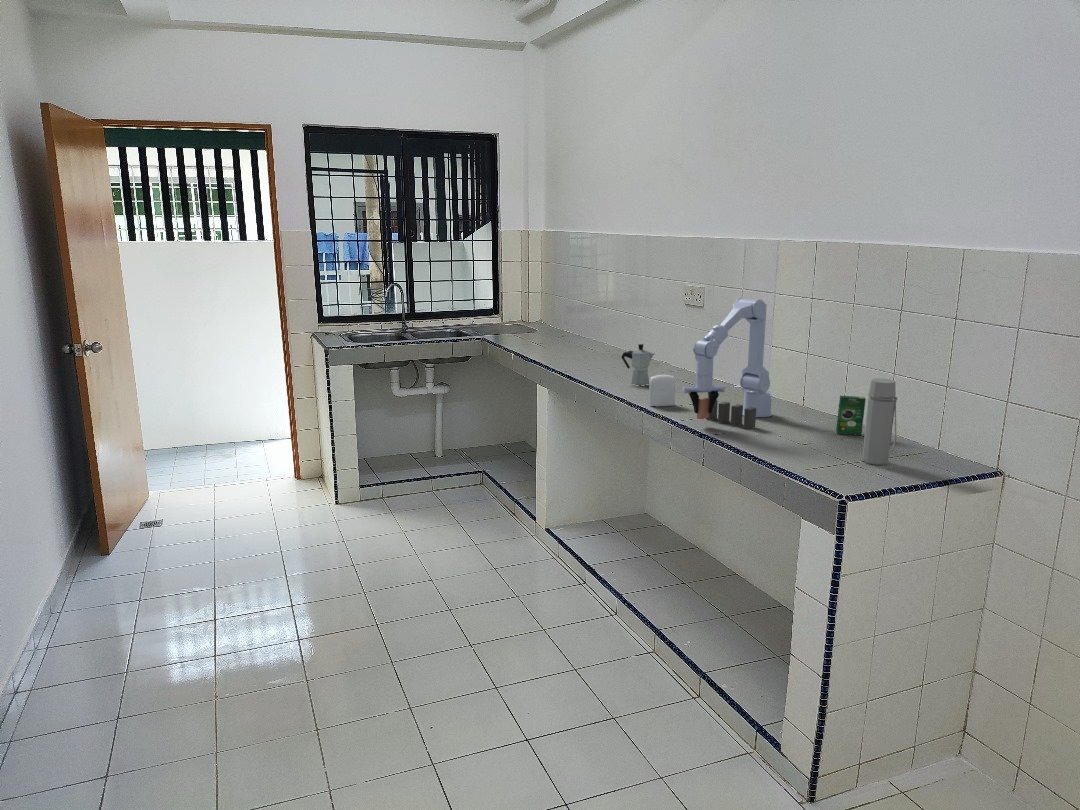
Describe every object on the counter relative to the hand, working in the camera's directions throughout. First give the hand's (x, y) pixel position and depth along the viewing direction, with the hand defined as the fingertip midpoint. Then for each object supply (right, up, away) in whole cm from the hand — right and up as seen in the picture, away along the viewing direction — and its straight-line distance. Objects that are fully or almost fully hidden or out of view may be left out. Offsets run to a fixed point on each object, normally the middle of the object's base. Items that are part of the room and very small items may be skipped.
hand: (702, 412), depth 270 cm
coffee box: (+47, -7, -10) cm, 49 cm away
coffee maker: (-14, +12, +72) cm, 74 cm away
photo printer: (-9, +2, +32) cm, 34 cm away
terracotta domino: (0, -2, 0) cm, 2 cm away
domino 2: (+9, -3, +7) cm, 12 cm away
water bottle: (+44, -15, -40) cm, 61 cm away
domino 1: (+5, -3, +11) cm, 13 cm away
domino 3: (+13, -4, +3) cm, 14 cm away
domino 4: (+16, -5, -1) cm, 17 cm away
